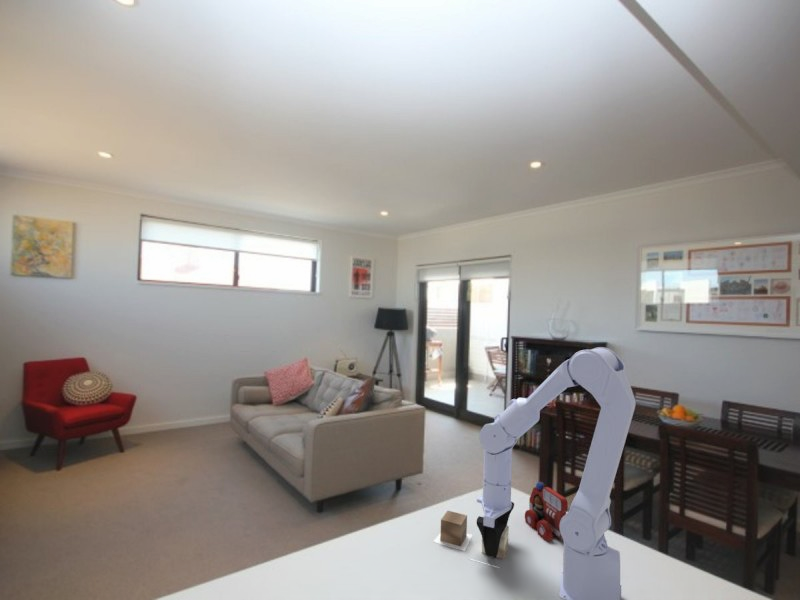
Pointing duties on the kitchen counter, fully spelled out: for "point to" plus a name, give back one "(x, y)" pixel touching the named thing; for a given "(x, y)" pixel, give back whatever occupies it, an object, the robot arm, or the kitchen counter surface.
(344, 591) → the kitchen counter surface
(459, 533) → the walnut block
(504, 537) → the maple block
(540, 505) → the toy fire truck
